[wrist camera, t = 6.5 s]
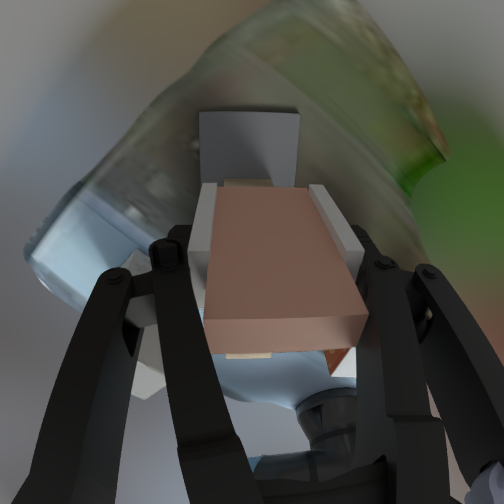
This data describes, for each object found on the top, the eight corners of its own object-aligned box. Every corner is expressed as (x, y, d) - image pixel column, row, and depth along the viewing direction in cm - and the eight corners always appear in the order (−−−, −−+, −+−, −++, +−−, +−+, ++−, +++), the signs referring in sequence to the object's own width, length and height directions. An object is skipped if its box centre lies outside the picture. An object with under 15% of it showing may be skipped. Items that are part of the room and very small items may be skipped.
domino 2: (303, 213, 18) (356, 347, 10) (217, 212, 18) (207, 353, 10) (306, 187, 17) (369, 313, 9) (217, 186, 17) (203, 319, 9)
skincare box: (113, 275, 39) (75, 368, 26) (137, 244, 37) (99, 340, 24) (162, 307, 43) (143, 403, 30) (190, 281, 40) (176, 382, 28)
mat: (281, 301, 43) (281, 304, 43) (208, 302, 43) (208, 305, 42) (299, 113, 30) (300, 114, 29) (199, 111, 29) (198, 112, 28)
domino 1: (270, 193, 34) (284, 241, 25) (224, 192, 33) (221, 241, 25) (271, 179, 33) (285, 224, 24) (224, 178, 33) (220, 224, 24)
